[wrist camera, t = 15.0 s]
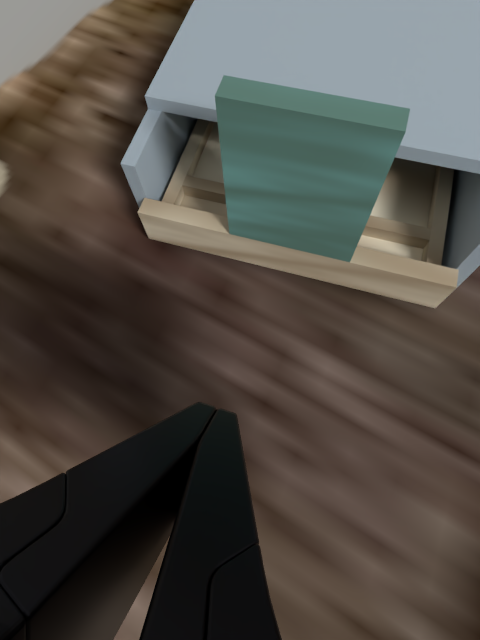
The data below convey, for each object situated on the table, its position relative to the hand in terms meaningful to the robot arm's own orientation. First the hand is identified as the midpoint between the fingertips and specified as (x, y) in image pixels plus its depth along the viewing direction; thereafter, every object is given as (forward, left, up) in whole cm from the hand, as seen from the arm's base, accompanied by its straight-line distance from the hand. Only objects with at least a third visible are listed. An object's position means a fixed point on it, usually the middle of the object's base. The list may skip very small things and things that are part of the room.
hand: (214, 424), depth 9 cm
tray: (+15, 0, -8) cm, 17 cm away
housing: (+15, 0, -8) cm, 17 cm away
